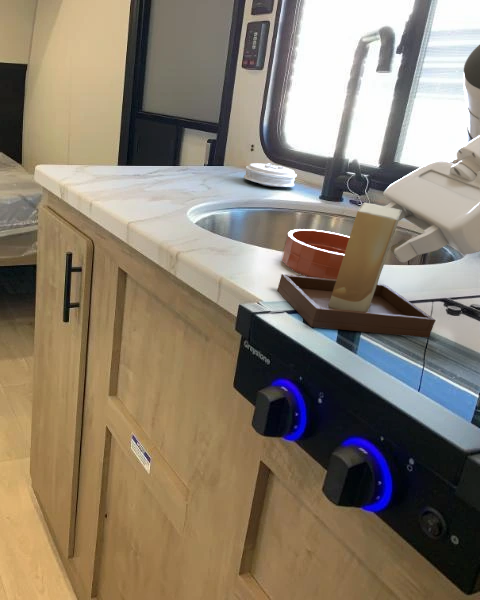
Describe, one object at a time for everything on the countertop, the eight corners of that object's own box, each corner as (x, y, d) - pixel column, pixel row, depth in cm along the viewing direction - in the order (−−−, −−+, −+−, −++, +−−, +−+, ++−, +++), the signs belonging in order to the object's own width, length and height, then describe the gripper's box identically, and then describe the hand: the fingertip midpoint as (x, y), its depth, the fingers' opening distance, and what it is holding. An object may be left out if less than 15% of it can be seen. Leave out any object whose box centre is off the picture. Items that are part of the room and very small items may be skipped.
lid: (302, 192, 149) (307, 172, 147) (254, 187, 147) (259, 167, 145) (279, 181, 160) (284, 162, 158) (235, 177, 158) (239, 158, 156)
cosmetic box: (335, 294, 77) (364, 201, 72) (371, 303, 75) (403, 209, 70) (326, 308, 72) (356, 208, 67) (364, 319, 70) (398, 217, 65)
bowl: (346, 261, 95) (354, 234, 93) (388, 291, 83) (398, 261, 82) (268, 253, 94) (275, 225, 92) (299, 282, 82) (308, 251, 80)
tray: (380, 300, 79) (385, 284, 78) (429, 338, 69) (436, 320, 68) (277, 290, 78) (281, 273, 77) (311, 327, 68) (316, 308, 67)
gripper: (441, 137, 74) (340, 203, 79) (540, 162, 56) (399, 247, 60) (465, 177, 76) (364, 240, 80) (569, 215, 57) (430, 295, 61)
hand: (380, 244), depth 70 cm, fingers open, 8 cm apart
